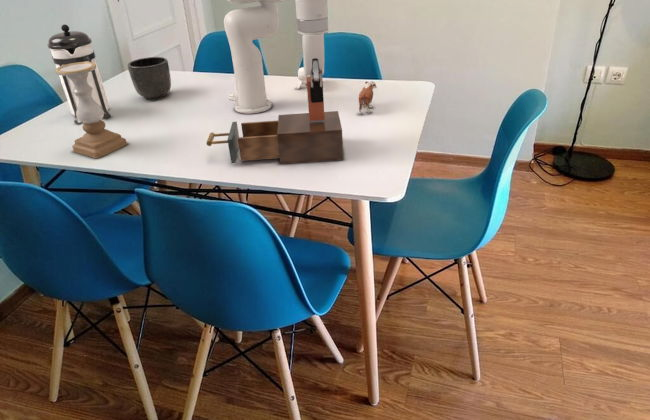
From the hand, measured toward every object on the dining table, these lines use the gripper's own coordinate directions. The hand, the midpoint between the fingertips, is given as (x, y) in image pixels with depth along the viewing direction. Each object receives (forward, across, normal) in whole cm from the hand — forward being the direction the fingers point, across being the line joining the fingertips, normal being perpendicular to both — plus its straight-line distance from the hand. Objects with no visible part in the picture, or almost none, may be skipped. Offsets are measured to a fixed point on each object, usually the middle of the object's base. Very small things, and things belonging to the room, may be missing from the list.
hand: (317, 98), depth 128 cm
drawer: (+14, 0, -19) cm, 24 cm away
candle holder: (+15, -12, -64) cm, 67 cm away
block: (+5, 0, 0) cm, 5 cm away
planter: (+15, -57, -59) cm, 83 cm away
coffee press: (+15, -41, -77) cm, 89 cm away
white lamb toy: (+15, -57, -1) cm, 59 cm away
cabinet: (+15, 0, -2) cm, 15 cm away
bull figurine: (+15, -30, +17) cm, 37 cm away
